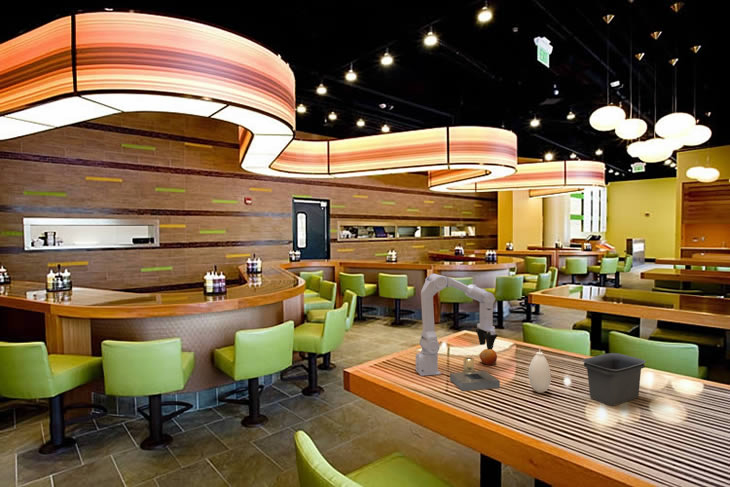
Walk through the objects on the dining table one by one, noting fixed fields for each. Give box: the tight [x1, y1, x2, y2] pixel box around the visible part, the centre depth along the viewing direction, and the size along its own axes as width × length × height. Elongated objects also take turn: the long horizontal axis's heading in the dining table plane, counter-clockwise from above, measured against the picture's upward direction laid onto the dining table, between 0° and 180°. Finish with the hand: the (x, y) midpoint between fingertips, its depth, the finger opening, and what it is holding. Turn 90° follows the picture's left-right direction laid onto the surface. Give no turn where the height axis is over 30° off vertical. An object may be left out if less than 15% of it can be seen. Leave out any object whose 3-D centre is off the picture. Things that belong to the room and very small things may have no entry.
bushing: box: [463, 356, 475, 372], centre depth 172 cm, size 4×4×7 cm
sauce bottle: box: [528, 345, 552, 394], centre depth 152 cm, size 8×8×18 cm
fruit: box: [478, 348, 498, 366], centre depth 187 cm, size 8×8×8 cm
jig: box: [449, 370, 501, 392], centre depth 160 cm, size 16×12×3 cm
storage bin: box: [582, 352, 647, 407], centre depth 146 cm, size 21×16×14 cm
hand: (486, 346), depth 180 cm, fingers open, 7 cm apart
